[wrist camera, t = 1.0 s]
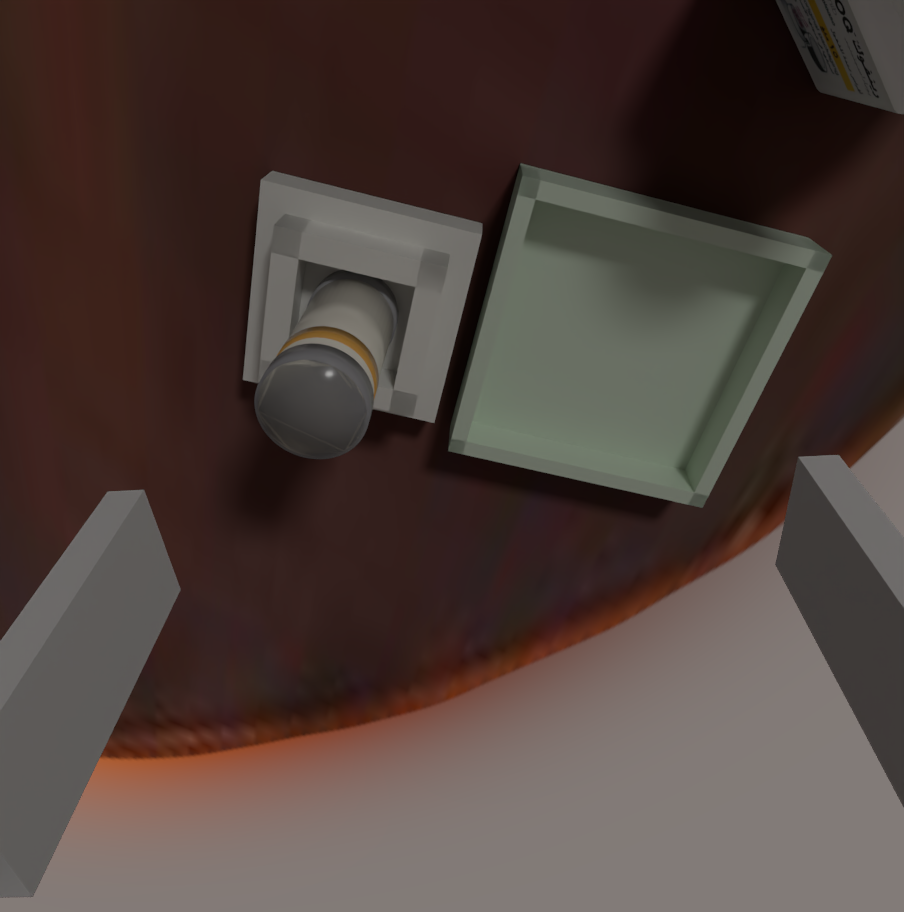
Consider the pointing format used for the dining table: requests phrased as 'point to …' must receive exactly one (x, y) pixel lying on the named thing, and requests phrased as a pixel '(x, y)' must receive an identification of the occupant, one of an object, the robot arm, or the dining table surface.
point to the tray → (626, 336)
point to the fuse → (329, 368)
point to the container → (852, 48)
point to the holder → (369, 253)
